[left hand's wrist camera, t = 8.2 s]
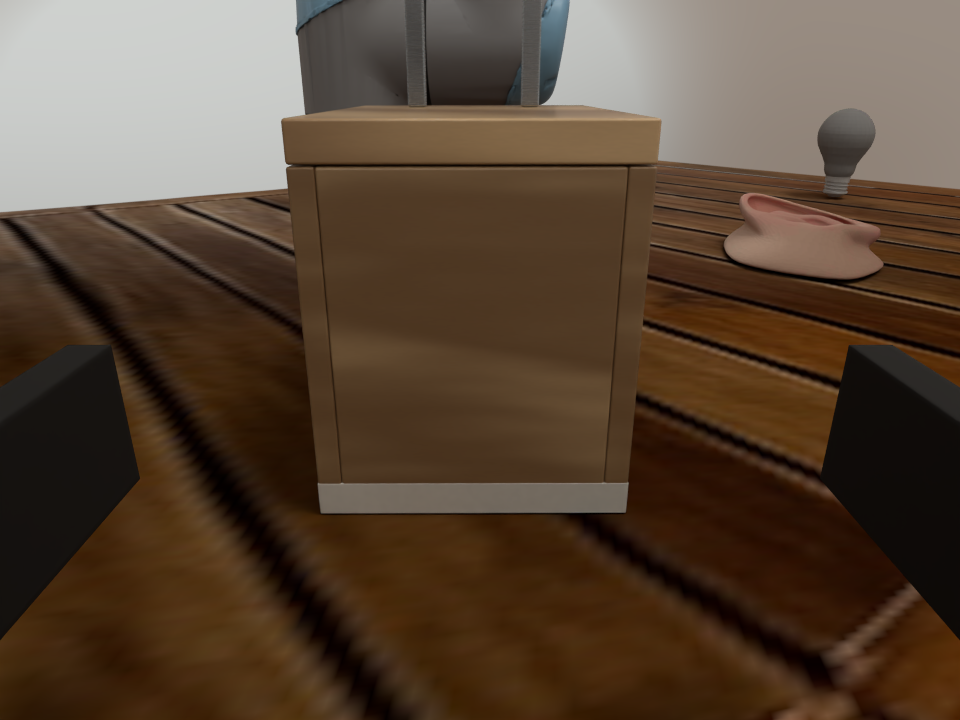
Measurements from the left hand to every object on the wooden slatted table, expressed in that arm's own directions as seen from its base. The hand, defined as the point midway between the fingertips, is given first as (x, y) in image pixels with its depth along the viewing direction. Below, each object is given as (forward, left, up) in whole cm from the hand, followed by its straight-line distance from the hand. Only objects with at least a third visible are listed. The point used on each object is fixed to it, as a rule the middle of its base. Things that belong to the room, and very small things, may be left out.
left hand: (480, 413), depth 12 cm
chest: (-11, +8, -7) cm, 15 cm away
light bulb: (-29, +80, -7) cm, 85 cm away
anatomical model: (-16, +45, -7) cm, 49 cm away
